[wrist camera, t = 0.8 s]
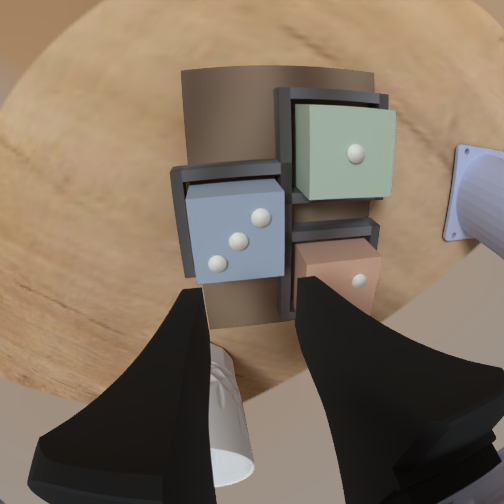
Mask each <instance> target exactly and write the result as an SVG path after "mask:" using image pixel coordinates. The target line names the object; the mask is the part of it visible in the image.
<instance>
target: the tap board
mask: <svg viewBox="0 0 504 504" xmlns="http://www.w3.org/2000/svg"><path fill="white" fill-rule="evenodd" d="M181 81H182V97H183V111H184V124H185V136H186V147H187V158H188V165H185V166H176V167H173V168H172V169H171V171H170V178H171V186H172V194H173V202H174V209H175V216H176V223H177V230H178V237H179V243H180V249H181V255H182V261H183V267H184V273H185V278H192V277H196V273H195V267H194V260H193V253H192V246H191V239H190V232H189V224H188V217H187V209H186V201H185V199H186V196H187V191H186V182H188V181H190V185H200V184H210V183H221V182H233V181H246V180H260V179H275V180H276V181H277V183H278V184H279V185H280V186H281V188H282V189H283V190H284V197H285V255H284V276H277V277H267V278H258V279H248V280H238V281H227V282H217V283H206V284H203V288H204V295H205V301H206V307H207V314H208V320H209V326H210V329H220V328H231V327H240V326H250V325H259V324H267V323H276V322H284V321H291V320H295V317H296V311H295V308H294V306H293V303H294V275H295V244H302V243H313V242H324V241H335V240H346V239H358V238H365V239H366V240H367V241H368V242H369V243H370V245H371V246H372V247H373V248H374V249H375V250H376V251H377V244H378V237H379V230H380V225H379V224H377V223H376V222H375V221H374V220H373V219H371V218H370V217H369V218H368V215H369V204H370V200H383V197H369V198H344V199H323V200H309V199H308V198H307V197H306V196H305V195H304V194H303V193H302V192H301V191H300V190H299V189H298V188H297V187H296V124H295V104H311V105H337V106H352V107H365V108H376V109H385V110H388V95H387V94H379V93H374V73H370V72H363V71H355V70H346V69H336V68H324V67H308V66H231V67H216V68H203V69H193V70H184V71H181Z"/></svg>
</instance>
